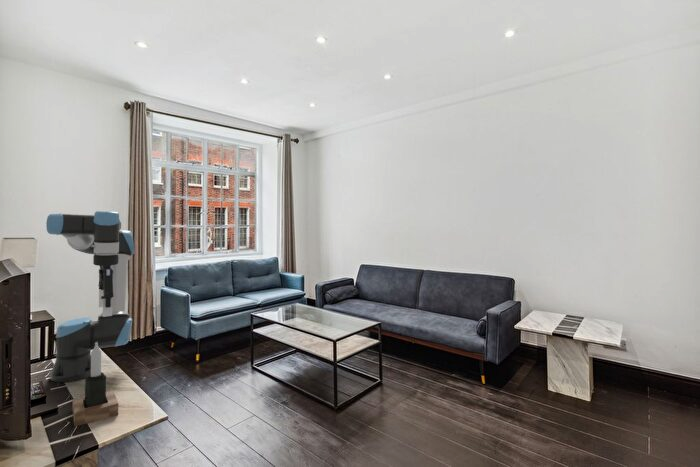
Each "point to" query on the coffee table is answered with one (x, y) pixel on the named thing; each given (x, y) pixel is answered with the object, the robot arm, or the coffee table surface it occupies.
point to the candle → (95, 381)
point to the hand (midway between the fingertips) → (105, 311)
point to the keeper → (94, 409)
